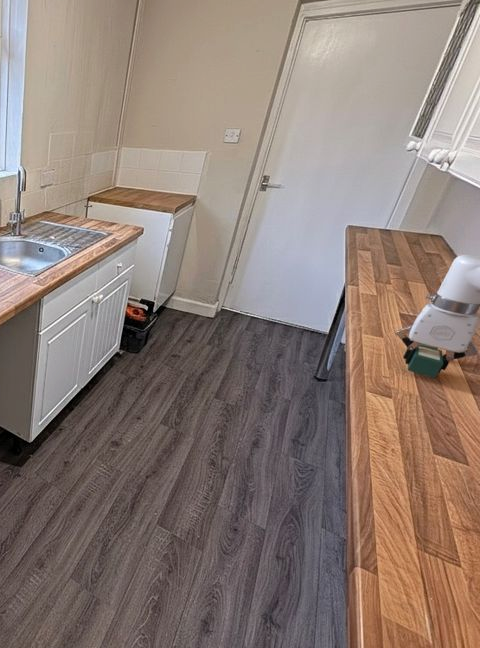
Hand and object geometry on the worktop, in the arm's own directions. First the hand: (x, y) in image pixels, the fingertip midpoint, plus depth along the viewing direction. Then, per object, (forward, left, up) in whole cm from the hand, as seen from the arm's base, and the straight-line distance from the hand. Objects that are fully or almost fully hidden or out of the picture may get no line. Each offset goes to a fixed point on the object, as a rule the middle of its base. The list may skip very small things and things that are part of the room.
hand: (422, 365), depth 109 cm
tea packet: (0, 0, -1) cm, 1 cm away
